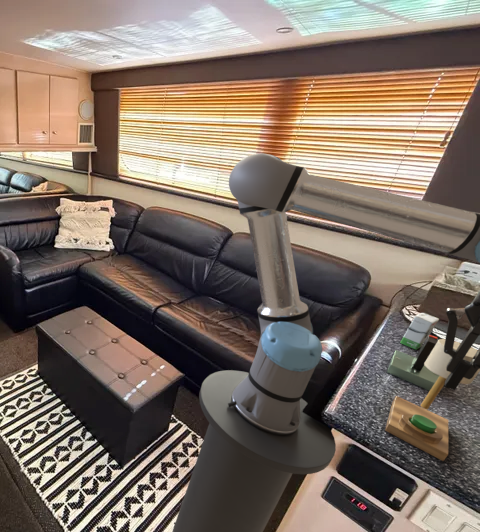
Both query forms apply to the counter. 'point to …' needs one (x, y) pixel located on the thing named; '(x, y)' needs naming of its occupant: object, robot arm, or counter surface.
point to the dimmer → (411, 371)
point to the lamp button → (423, 423)
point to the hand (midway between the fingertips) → (449, 385)
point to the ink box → (419, 330)
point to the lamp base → (408, 432)
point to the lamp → (443, 369)
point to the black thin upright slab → (424, 352)
